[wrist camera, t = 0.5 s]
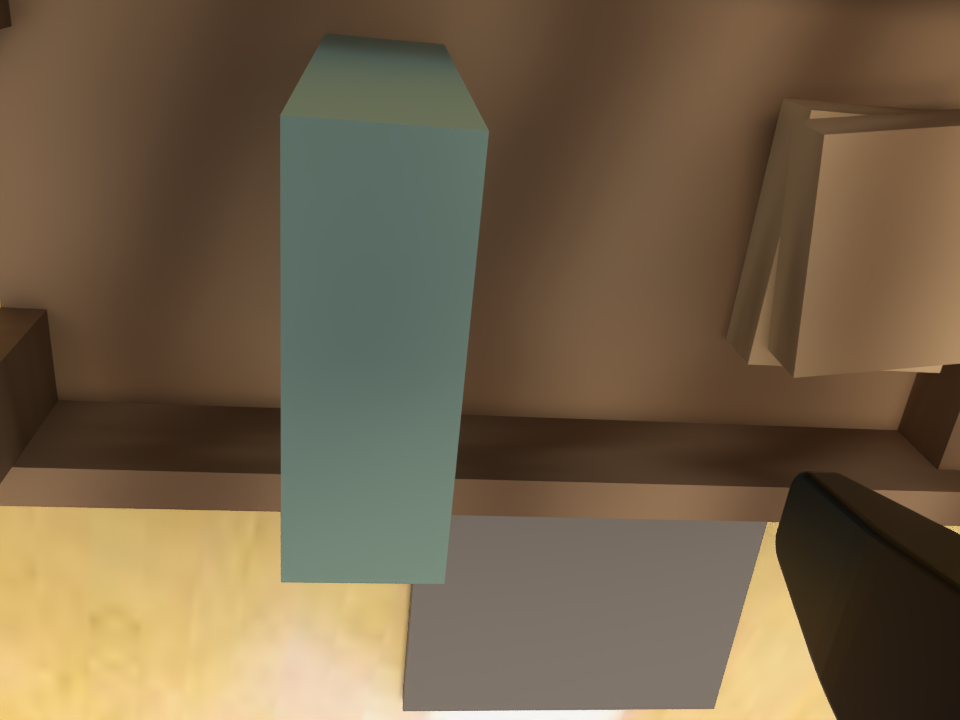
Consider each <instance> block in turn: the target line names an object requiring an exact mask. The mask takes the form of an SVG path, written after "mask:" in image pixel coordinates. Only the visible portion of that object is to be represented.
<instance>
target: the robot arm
mask: <svg viewBox="0 0 960 720" xmlns="http://www.w3.org/2000/svg"><path fill="white" fill-rule="evenodd" d="M776 553H777V557H778V561H779V564H780V567H781V570H782V573H783V576H784V579H785V582H786V585H787V588H788V591H789V594H790V597H791V600H792V603H793V606H794V609H795V612H796V615H797V618H798V621H799V623H800V626H801V629H802V632H803V635H804V638H805V641H806V644H807V647H808V650H809V653H810V656H811V659H812V662H813V665H814V667H815V670H816V673H817V675H818V678H819V681H820V683H821V685H822V688H823V690H824V692H825V695H826V697H827V699H828V702H829V704H830V706H831V708H832V710H833V713H834V715H835V717H836V719H837V720H960V534H958V533H956V532H954V531H952V530H950V529H948V528H946V527H944V526H942V525H940V524H938V523H936V522H934V521H932V520H931V519H929V518H927V517H925V516H923V515H921V514H919V513H917V512H915V511H913V510H911V509H909V508H907V507H905V506H903V505H901V504H899V503H897V502H895V501H893V500H891V499H889V498H887V497H885V496H884V495H882V494H880V493H878V492H876V491H874V490H872V489H870V488H868V487H866V486H864V485H862V484H860V483H858V482H856V481H854V480H852V479H850V478H848V477H846V476H844V475H842V474H840V473H838V472H833V471H801V472H800V473H798V474H797V475H796V476H795V477H794V479H793V480H792V483H791V485H790V488H789V492H788V495H787V499H786V502H785V505H784V509H783V512H782V516H781V519H780V523H779V526H778V529H777V534H776Z"/></svg>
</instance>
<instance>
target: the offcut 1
mask: <svg viewBox="0 0 960 720" xmlns="http://www.w3.org/2000/svg"><path fill="white" fill-rule="evenodd" d="M922 111H929V110H917V109H905V108H894V107H882V106H871V105H859V104H847V103H836V102H824V101H813V100H801V99H789V98H783V100H782V104H781V109H780V113H779V117H778V121H777V126H776V130H775V134H774V138H773V142H772V147H771V151H770V155H769V159H768V164H767V168H766V172H765V176H764V181H763V185H762V189H761V193H760V198H759V202H758V206H757V210H756V215H755V219H754V223H753V227H752V232H751V236H750V240H749V244H748V249H747V253H746V257H745V261H744V266H743V270H742V274H741V278H740V283H739V287H738V291H737V295H736V299H735V304H734V308H733V312H732V316H731V321H730V325H729V329H728V333H727V338H726V339H727V340H728V341H729V342H730V344H731V345H732V346H733V347H734V348H735V350H736V351H737V352H738V353H739V354H740V356H741V357H742V358H743V359H744V360H745V362H746V363H747V364H750V365H772V366H782V365H781V364H780V362H779V361H778V360H777V359H776V358H775V357H774V356H773V355H772V354H771V353H770V351H769V350H768V341H769V332H770V323H771V314H772V305H773V296H774V287H775V278H776V269H777V260H778V251H779V242H780V233H781V224H782V215H783V206H784V197H785V188H786V179H787V170H788V161H789V152H790V143H791V134H792V125H793V120H801V119H816V118H831V117H846V116H862V115H877V114H892V113H907V112H922ZM942 366H943V365H938V366H926V367H915V368H903V369H891V370H883V371H905V372H928V373H940V371H941V368H942Z"/></svg>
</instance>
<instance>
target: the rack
mask: <svg viewBox="0 0 960 720" xmlns="http://www.w3.org/2000/svg"><path fill="white" fill-rule="evenodd" d="M325 34H336V35H347V36H358V37H369V38H380V39H392V40H403V41H414V42H425V43H436V44H444V45H445V47H446V49H447V51H448V53H449V54H450V56H451V58H452V60H453V62H454V64H455V66H456V68H457V70H458V72H459V74H460V76H461V78H462V80H463V82H464V84H465V85H466V87H467V89H468V91H469V93H470V95H471V97H472V99H473V101H474V103H475V105H476V107H477V109H478V111H479V113H480V115H481V116H482V118H483V120H484V122H485V124H486V126H487V128H488V130H489V137H488V147H487V157H486V167H485V177H484V187H483V198H482V208H481V218H480V228H479V238H478V248H477V259H476V269H475V279H474V289H473V299H472V309H471V319H470V330H469V340H468V350H467V360H466V370H465V380H464V390H463V401H462V411H461V421H460V431H459V441H458V451H457V462H456V472H455V482H454V492H453V502H452V512H451V515H468V516H515V517H563V518H610V519H658V520H706V521H753V522H780V519H781V516H782V512H783V509H784V505H785V502H786V499H787V495H788V492H789V488H790V485H791V483H792V480H793V479H794V477H795V476H796V475H797V474H798V473H800V472H801V471H833V472H838V473H840V474H842V475H844V476H846V477H848V478H850V479H852V480H854V481H856V482H858V483H860V484H862V485H864V486H866V487H868V488H870V489H872V490H874V491H876V492H878V493H880V494H882V495H884V496H885V497H887V498H889V499H891V500H893V501H895V502H897V503H899V504H901V505H903V506H905V507H907V508H909V509H911V510H913V511H915V512H917V513H919V514H921V515H923V516H925V517H927V518H929V519H931V520H932V521H934V522H936V523H938V524H940V525H944V526H960V364H949V365H943V366H942V368H941V371H940V373H928V372H905V371H883V370H880V371H868V372H856V373H845V374H833V375H821V376H810V377H798V378H793V377H792V376H791V375H790V373H789V372H788V371H787V370H786V369H785V368H784V367H783V366H772V365H750V364H747V363H746V362H745V360H744V359H743V358H742V357H741V356H740V354H739V353H738V352H737V351H736V350H735V348H734V347H733V346H732V345H731V344H730V342H729V341H728V340H727V339H726V338H727V333H728V329H729V325H730V321H731V316H732V312H733V308H734V304H735V299H736V295H737V291H738V287H739V283H740V278H741V274H742V270H743V266H744V261H745V257H746V253H747V249H748V244H749V240H750V236H751V232H752V227H753V223H754V219H755V215H756V210H757V206H758V202H759V198H760V193H761V189H762V185H763V181H764V176H765V172H766V168H767V164H768V159H769V155H770V151H771V147H772V142H773V138H774V134H775V130H776V126H777V121H778V117H779V113H780V109H781V104H782V100H783V98H789V99H801V100H813V101H824V102H836V103H847V104H859V105H871V106H882V107H894V108H905V109H917V110H929V111H938V110H953V109H960V0H0V302H1V308H0V506H39V507H87V508H134V509H182V510H230V511H277V512H281V261H280V114H281V113H282V111H283V109H284V107H285V105H286V104H287V102H288V100H289V98H290V96H291V95H292V93H293V91H294V89H295V87H296V86H297V84H298V82H299V80H300V78H301V77H302V75H303V73H304V71H305V69H306V68H307V66H308V64H309V62H310V60H311V58H312V57H313V55H314V53H315V51H316V49H317V48H318V46H319V44H320V42H321V40H322V39H323V37H324V35H325Z"/></svg>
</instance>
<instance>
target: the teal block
mask: <svg viewBox="0 0 960 720" xmlns="http://www.w3.org/2000/svg"><path fill="white" fill-rule="evenodd" d="M488 137H489V130H488V128H487V126H486V124H485V122H484V120H483V118H482V116H481V115H480V113H479V111H478V109H477V107H476V105H475V103H474V101H473V99H472V97H471V95H470V93H469V91H468V89H467V87H466V85H465V84H464V82H463V80H462V78H461V76H460V74H459V72H458V70H457V68H456V66H455V64H454V62H453V60H452V58H451V56H450V54H449V53H448V51H447V49H446V47H445V45H444V44H436V43H425V42H414V41H403V40H392V39H380V38H369V37H358V36H347V35H336V34H325V35H324V37H323V39H322V40H321V42H320V44H319V46H318V48H317V49H316V51H315V53H314V55H313V57H312V58H311V60H310V62H309V64H308V66H307V68H306V69H305V71H304V73H303V75H302V77H301V78H300V80H299V82H298V84H297V86H296V87H295V89H294V91H293V93H292V95H291V96H290V98H289V100H288V102H287V104H286V105H285V107H284V109H283V111H282V113H281V114H280V261H281V582H304V583H395V584H444V583H445V573H446V563H447V553H448V543H449V533H450V522H451V512H452V502H453V492H454V482H455V472H456V462H457V451H458V441H459V431H460V421H461V411H462V401H463V390H464V380H465V370H466V360H467V350H468V340H469V330H470V319H471V309H472V299H473V289H474V279H475V269H476V259H477V248H478V238H479V228H480V218H481V208H482V198H483V187H484V177H485V167H486V157H487V147H488Z"/></svg>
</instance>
